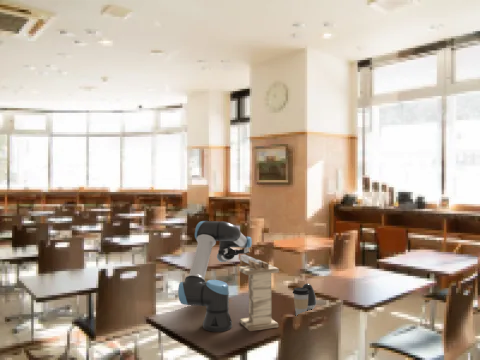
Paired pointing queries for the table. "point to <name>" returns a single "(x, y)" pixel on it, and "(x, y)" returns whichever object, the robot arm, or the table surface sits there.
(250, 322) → the birch stand
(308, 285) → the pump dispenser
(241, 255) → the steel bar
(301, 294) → the coffee cup
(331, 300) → the table surface
